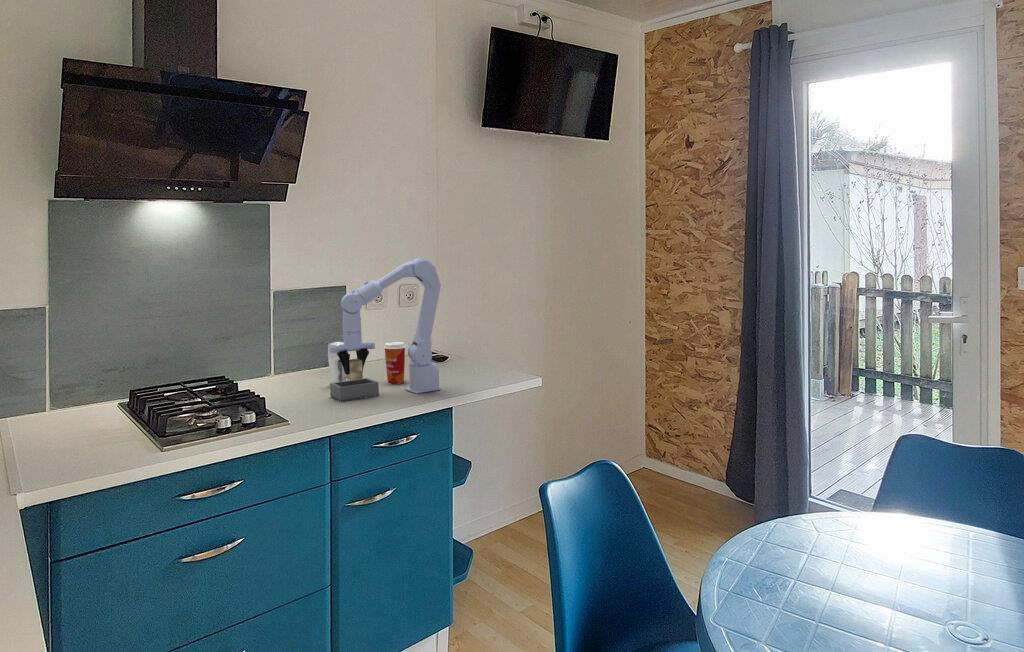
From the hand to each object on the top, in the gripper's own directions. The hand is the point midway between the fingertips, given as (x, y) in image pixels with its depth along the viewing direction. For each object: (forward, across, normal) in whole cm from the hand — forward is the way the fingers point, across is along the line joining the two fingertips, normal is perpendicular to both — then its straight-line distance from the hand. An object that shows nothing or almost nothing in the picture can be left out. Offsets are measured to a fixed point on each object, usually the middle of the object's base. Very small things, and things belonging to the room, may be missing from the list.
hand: (353, 373), depth 221 cm
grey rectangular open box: (+8, 0, 0) cm, 8 cm away
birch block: (+2, 0, 0) cm, 2 cm away
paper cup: (+8, -20, -10) cm, 24 cm away
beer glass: (+8, -2, -17) cm, 19 cm away
